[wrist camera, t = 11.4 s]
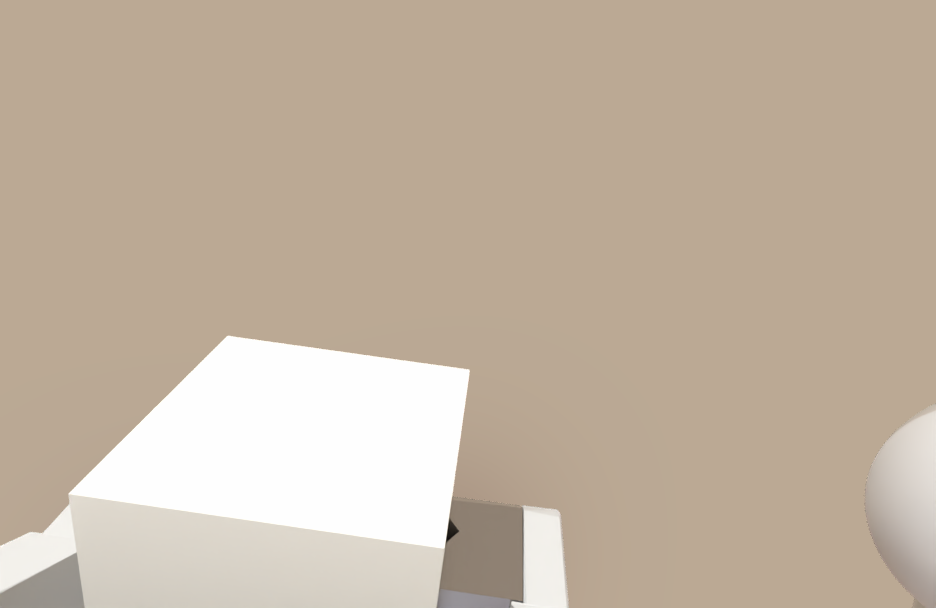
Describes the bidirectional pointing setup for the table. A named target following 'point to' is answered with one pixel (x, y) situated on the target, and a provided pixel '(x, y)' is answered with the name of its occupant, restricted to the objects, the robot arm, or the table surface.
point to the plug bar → (278, 486)
